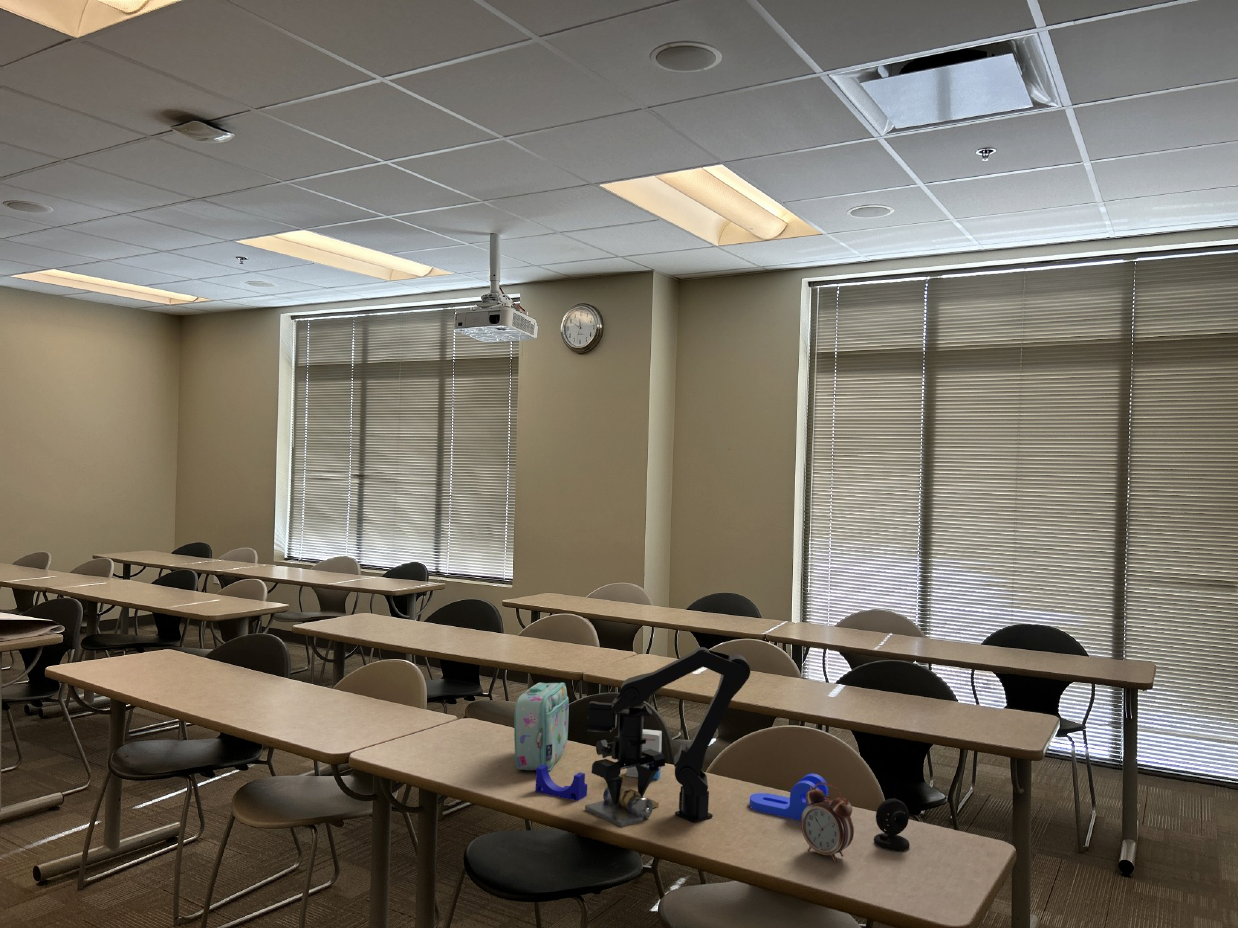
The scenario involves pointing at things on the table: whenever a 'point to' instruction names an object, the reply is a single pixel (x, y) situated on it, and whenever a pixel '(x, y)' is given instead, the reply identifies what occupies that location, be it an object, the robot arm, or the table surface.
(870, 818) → the table surface
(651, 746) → the ink box
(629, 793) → the brass hinge knuckle
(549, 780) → the blue semicircular cradle
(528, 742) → the lunch box
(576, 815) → the table surface
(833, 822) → the alarm clock
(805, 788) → the bracket
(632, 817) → the fixed leaf
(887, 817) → the webcam
